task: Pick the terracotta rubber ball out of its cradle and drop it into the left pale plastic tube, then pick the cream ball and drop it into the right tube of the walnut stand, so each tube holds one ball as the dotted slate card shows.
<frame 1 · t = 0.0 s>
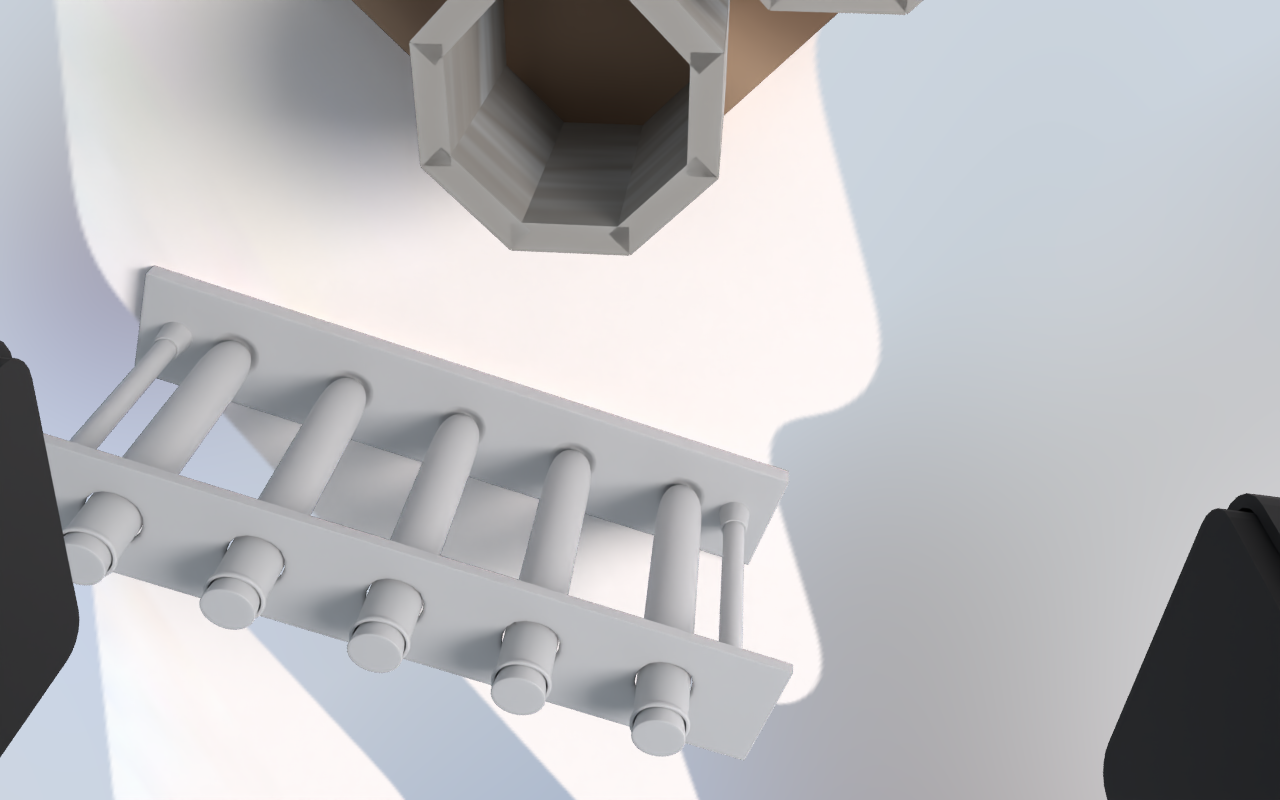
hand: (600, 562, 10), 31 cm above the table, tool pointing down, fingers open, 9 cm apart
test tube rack: (467, 412, 47), on the table
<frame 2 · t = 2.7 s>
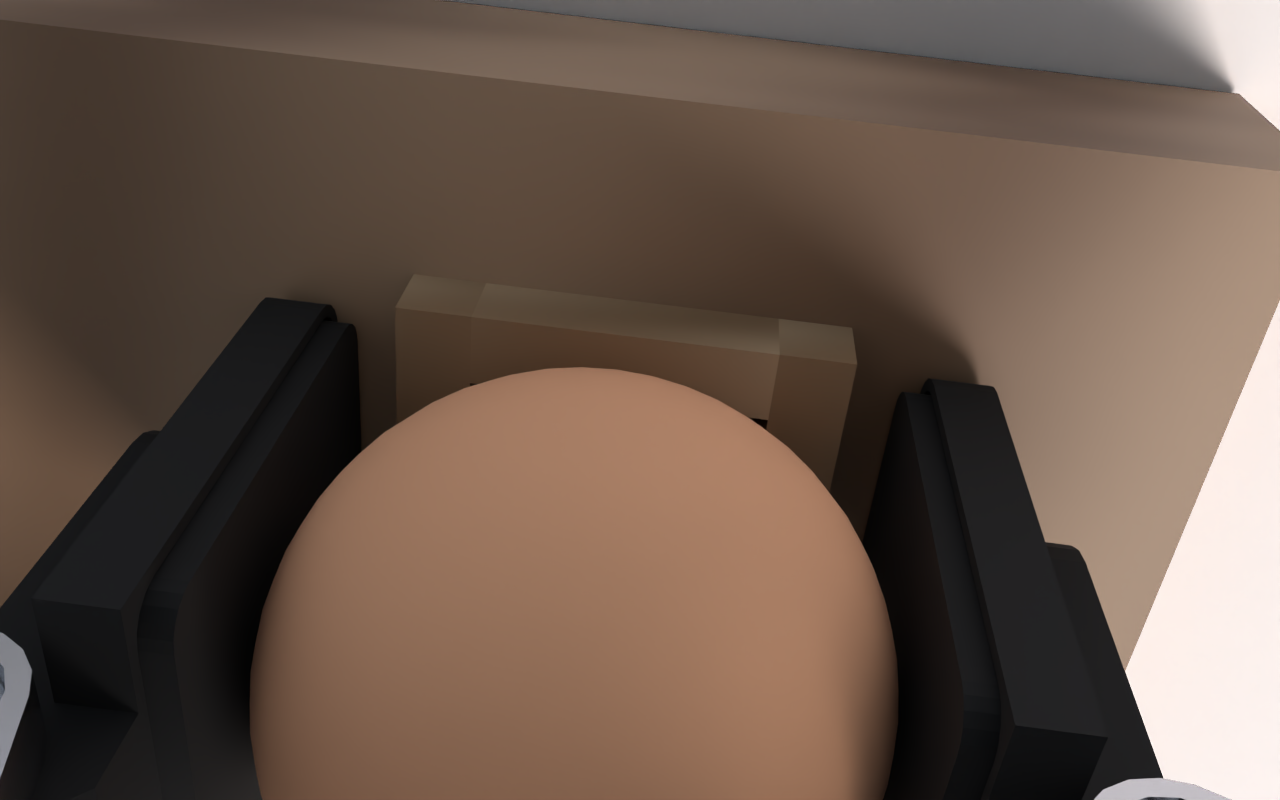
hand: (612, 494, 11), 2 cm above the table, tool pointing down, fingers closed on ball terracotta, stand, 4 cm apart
stand: (207, 689, 16), on the table
ball terracotta: (578, 680, 9), point 5 cm above the table, touching gripper, stand
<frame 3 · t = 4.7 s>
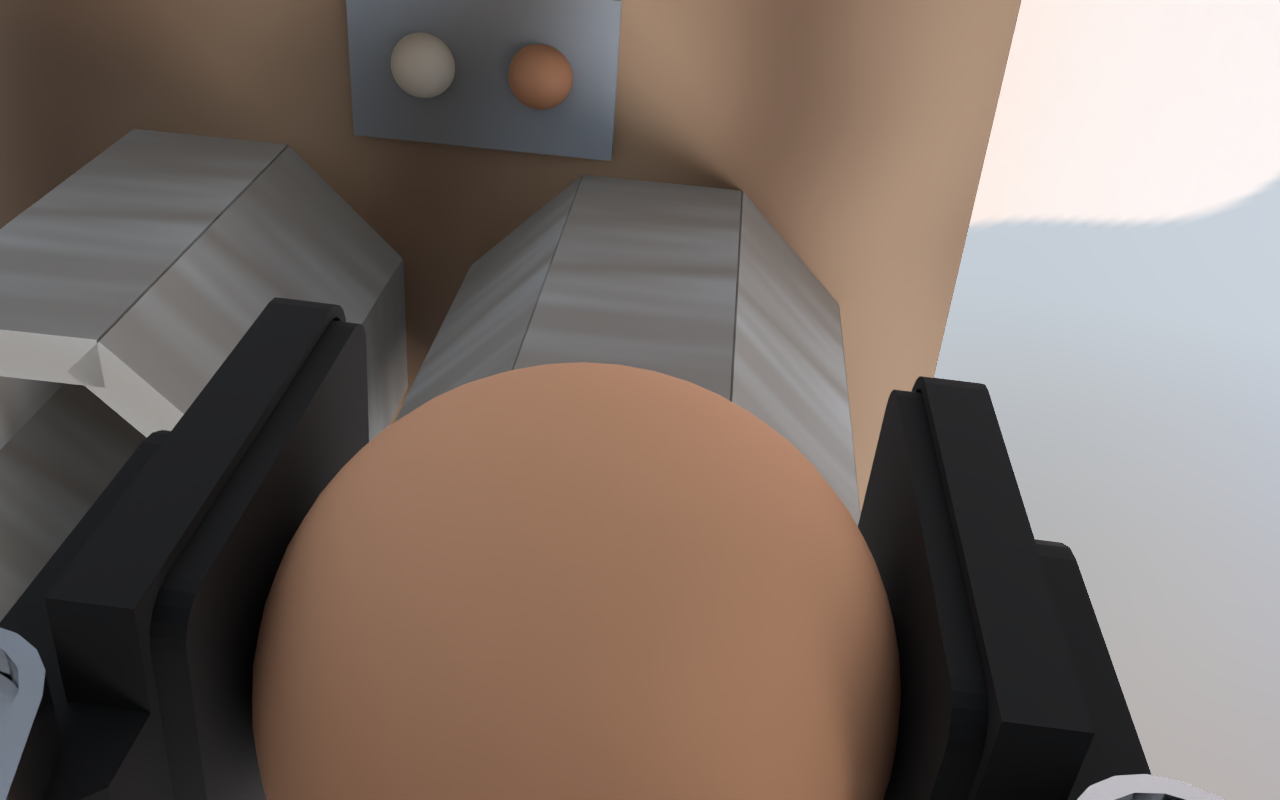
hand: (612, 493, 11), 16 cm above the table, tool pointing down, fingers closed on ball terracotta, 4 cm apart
stand: (480, 95, 25), on the table
ball terracotta: (580, 675, 9), point 18 cm above the table, touching gripper
when the fingers open (11 cm above the table, at t = 6.2 s): ball terracotta drops 9 cm, resting on stand.
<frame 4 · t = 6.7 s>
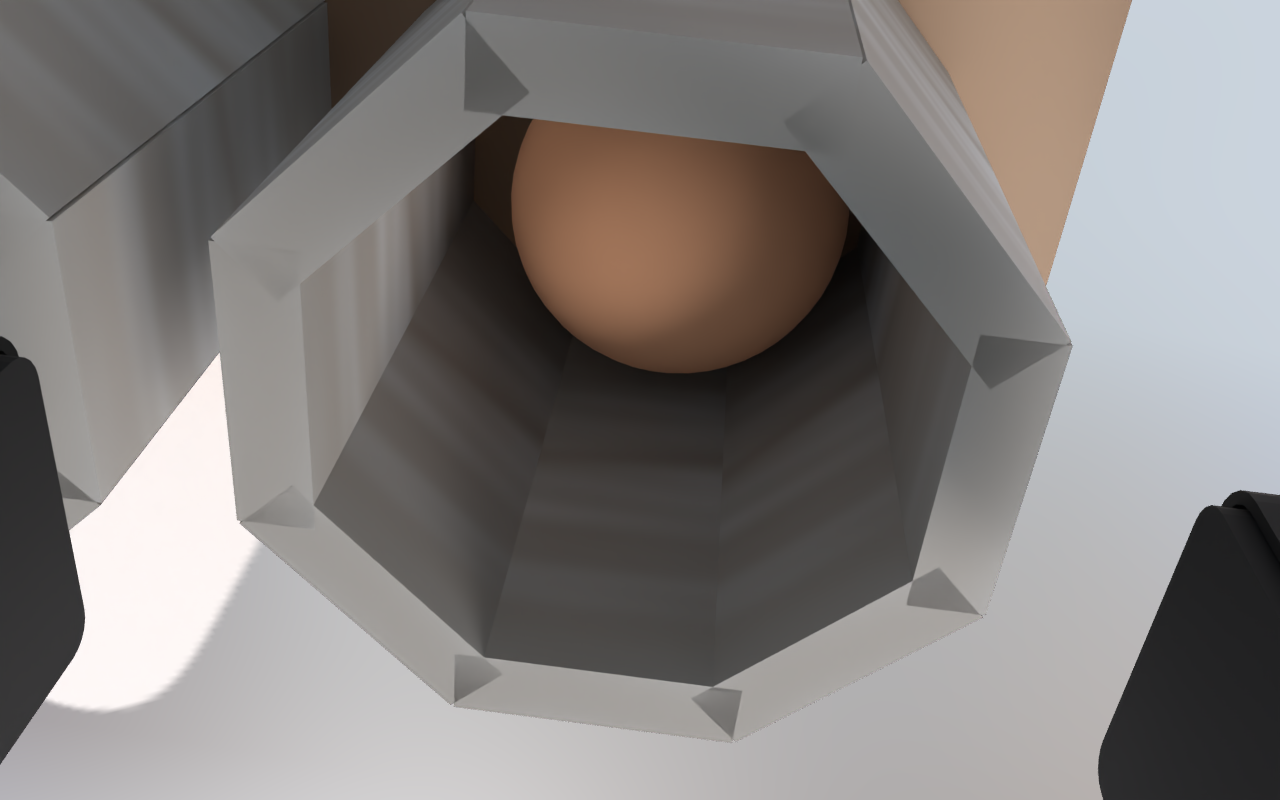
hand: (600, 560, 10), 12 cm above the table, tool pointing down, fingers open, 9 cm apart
ball terracotta: (679, 205, 16), point 4 cm above the table, tilted 7°, touching stand
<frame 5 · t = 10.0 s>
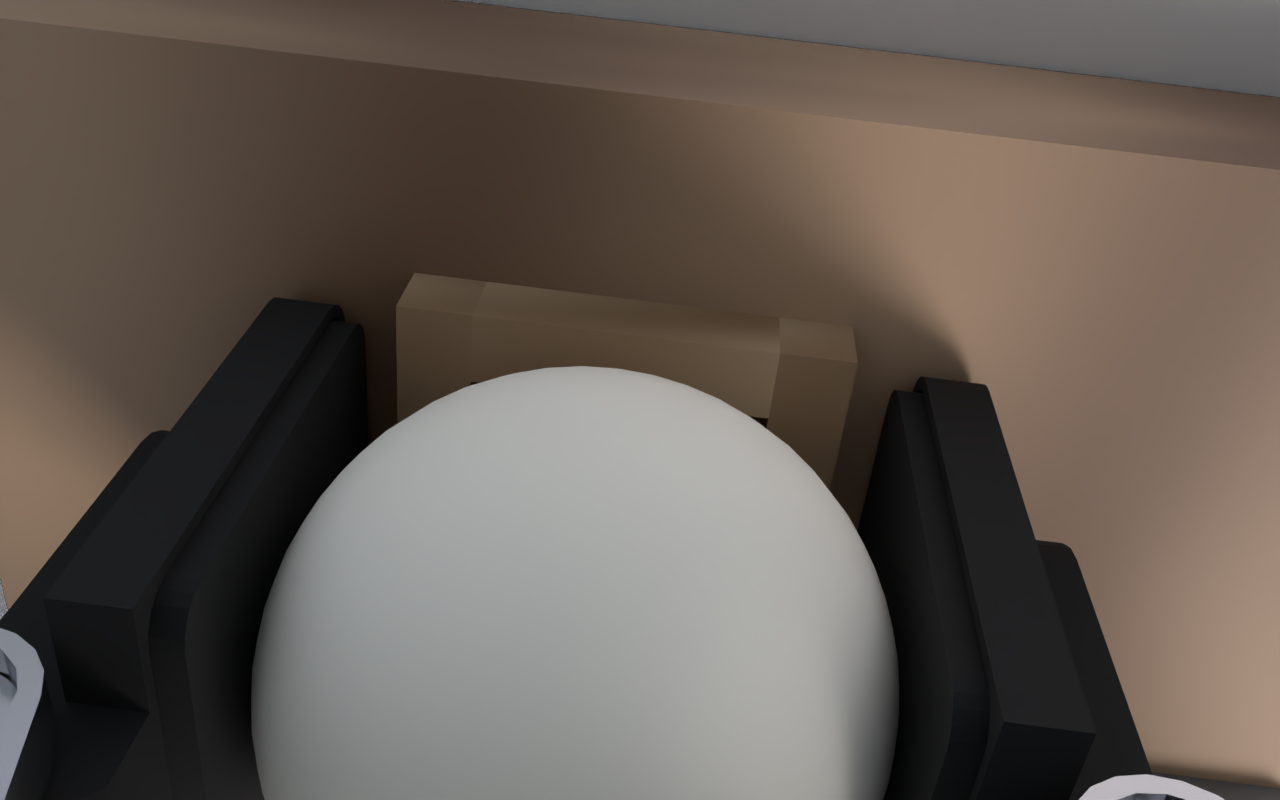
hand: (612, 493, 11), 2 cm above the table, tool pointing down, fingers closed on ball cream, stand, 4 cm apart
ball cream: (579, 679, 9), point 5 cm above the table, touching gripper, stand
stand: (908, 779, 15), on the table
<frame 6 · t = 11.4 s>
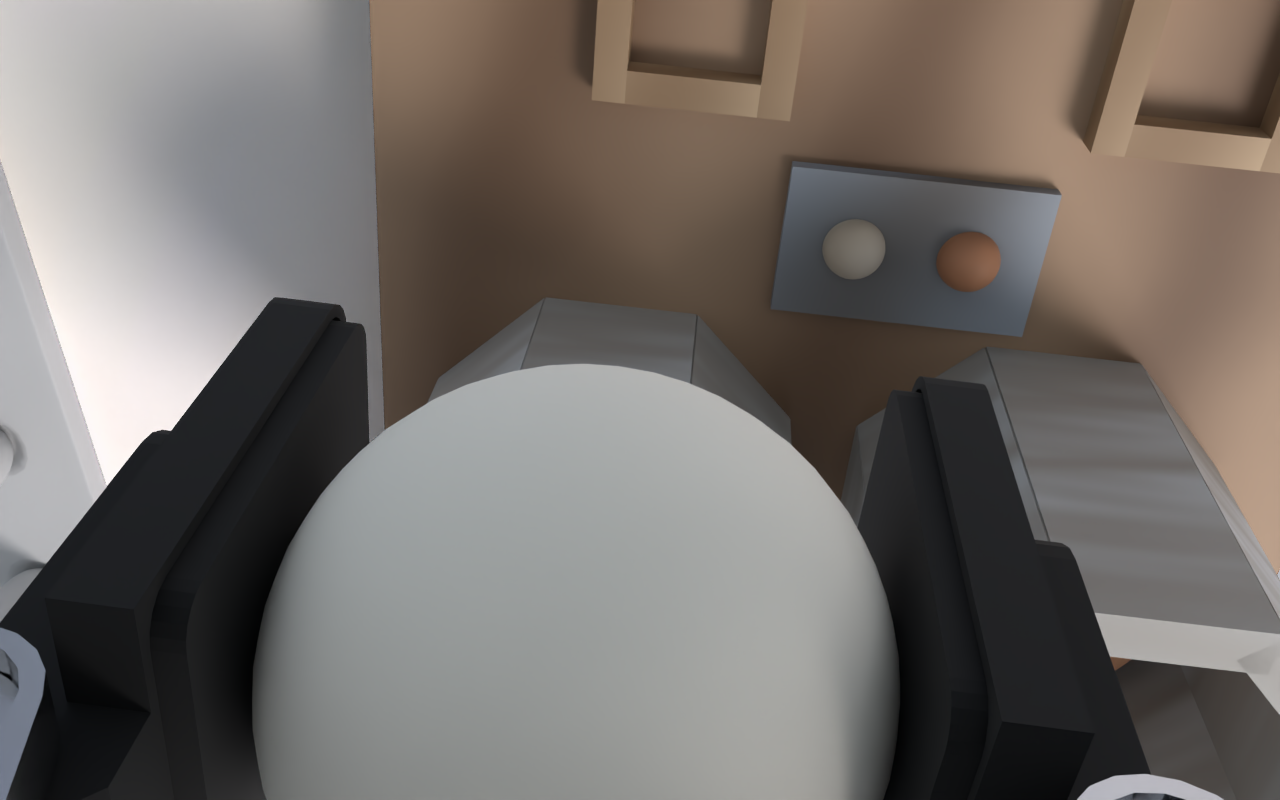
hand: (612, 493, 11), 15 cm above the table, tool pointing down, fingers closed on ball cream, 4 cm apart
ball cream: (580, 677, 9), point 18 cm above the table, touching gripper
stand: (864, 260, 26), on the table
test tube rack: (61, 561, 33), on the table
when the fingers open (11 cm above the table, at t = 13.1 s): ball cream drops 9 cm, resting on stand.
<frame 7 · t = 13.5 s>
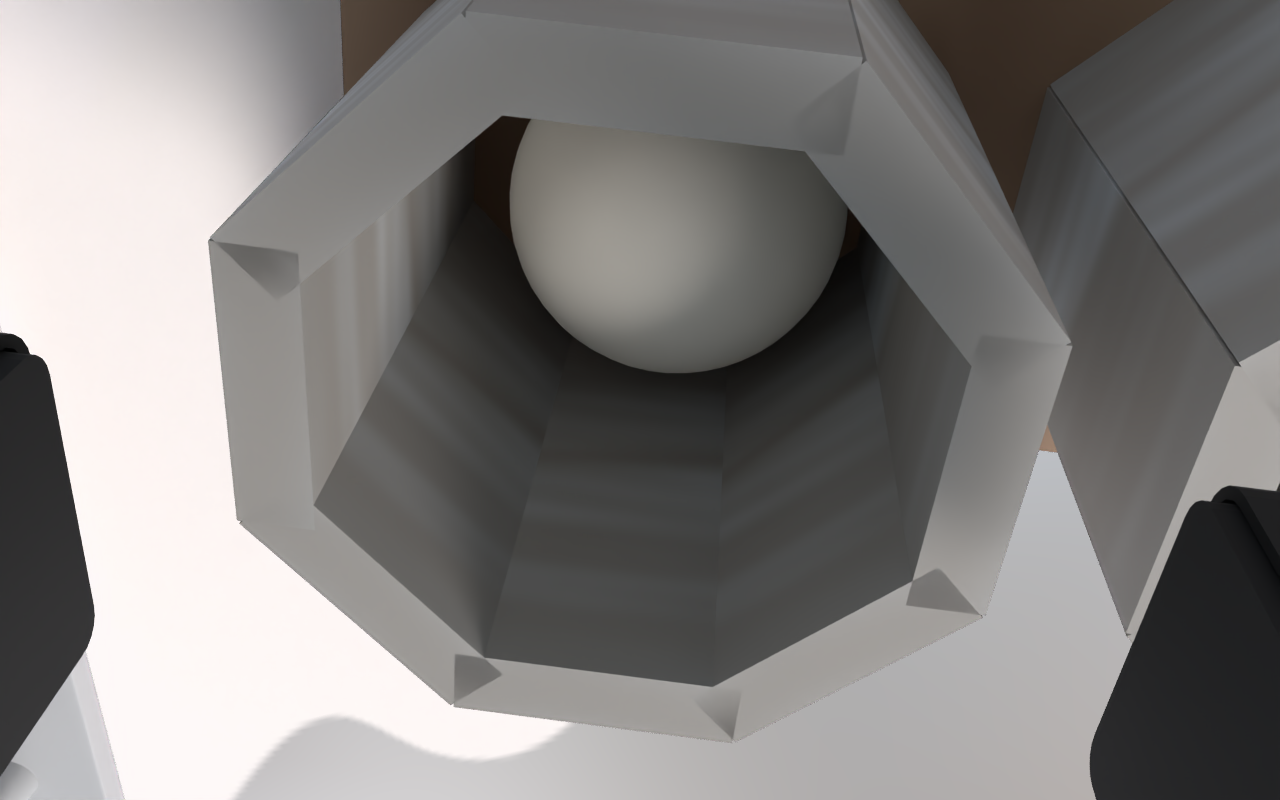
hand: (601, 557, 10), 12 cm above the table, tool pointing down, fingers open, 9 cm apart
ball cream: (677, 205, 16), point 4 cm above the table, tilted 7°, touching stand
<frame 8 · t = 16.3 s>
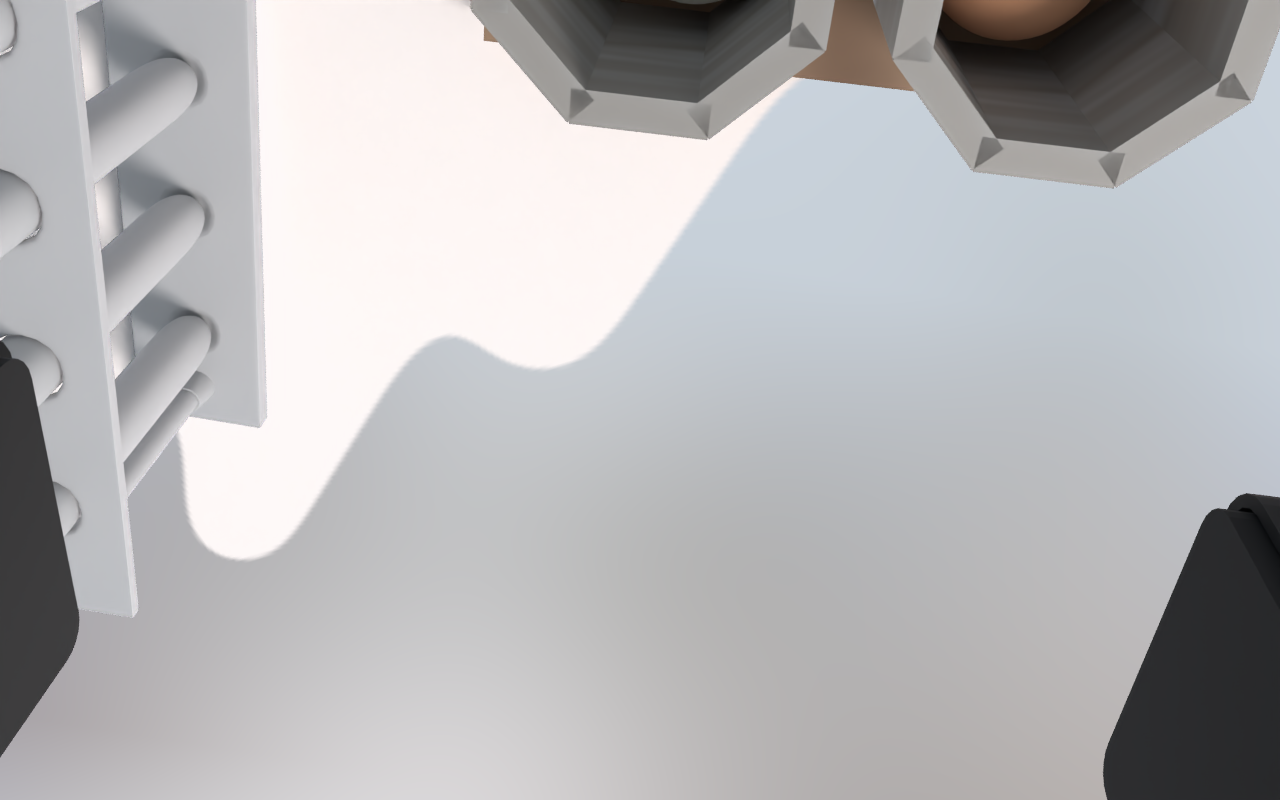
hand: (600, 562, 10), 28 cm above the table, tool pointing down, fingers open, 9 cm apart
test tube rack: (191, 68, 38), on the table
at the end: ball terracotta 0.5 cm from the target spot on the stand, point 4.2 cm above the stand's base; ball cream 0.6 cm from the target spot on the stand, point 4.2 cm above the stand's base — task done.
